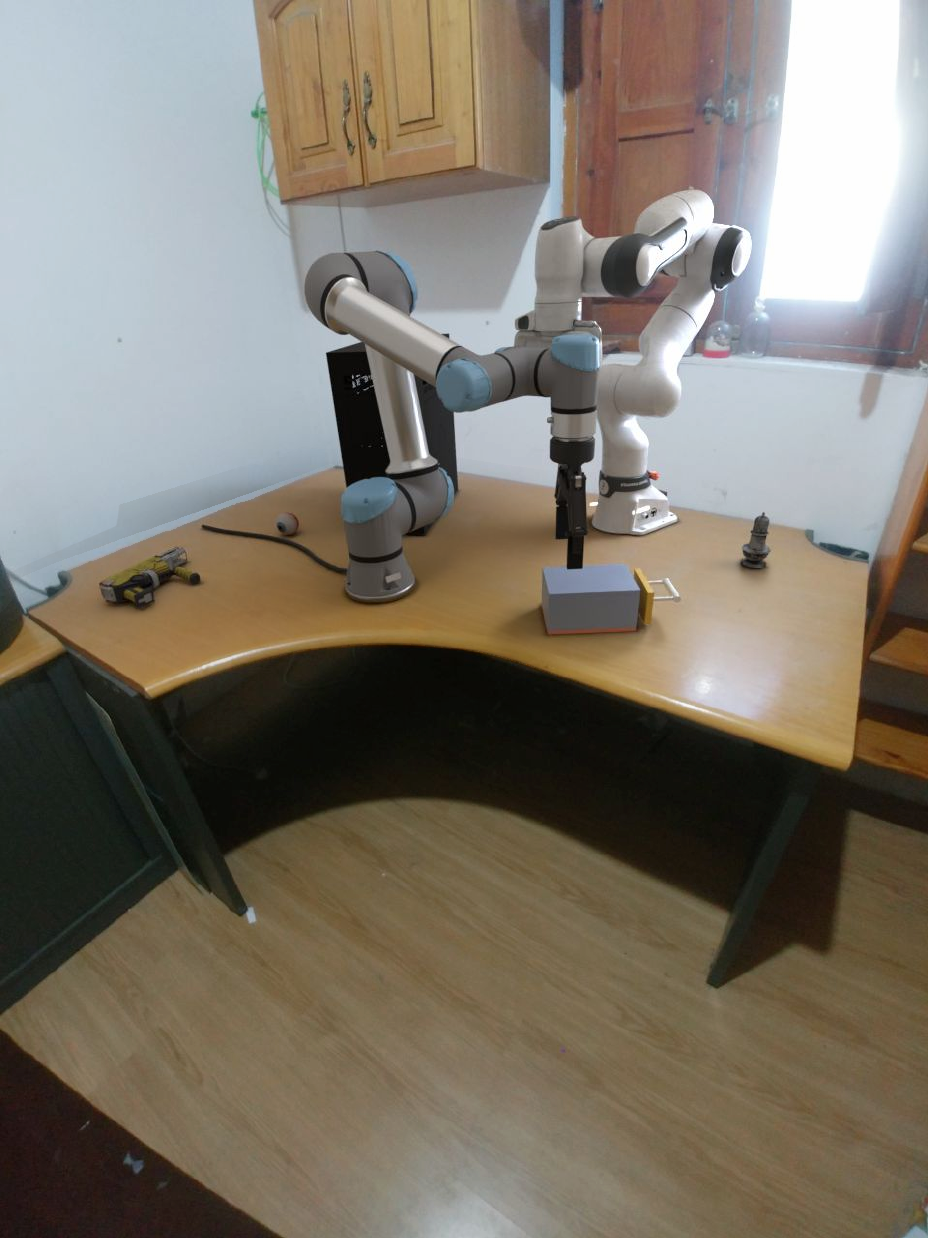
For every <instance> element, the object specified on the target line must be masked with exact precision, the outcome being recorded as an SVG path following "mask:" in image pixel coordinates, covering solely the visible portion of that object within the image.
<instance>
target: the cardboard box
mask: <svg viewBox="0 0 928 1238" xmlns="http://www.w3.org/2000/svg"><path fill="white" fill-rule="evenodd" d="M441 334H442V335H444V336H445V337H447V338H449V339H450V333H441ZM325 356H326V362H327V364H326V365H327V370H328V374H329V383H330V390H331V396H332V402H333V409H334V415H335V421H336V428H337V429H336V430H337V435H338V441H339V448H340V454H341V455H340V456H341V461H342V469H343V474H344V482H345V487H346V488H347V487H349V486H350V485H352V484H353V483H356V482H358V481H361V480H364V479H371V478H374V477H385V478H387V476H386V471H385V470H386V469H387V467H388V465H389V464H390V457H389V453H388V448H387V443H386V439H385V434H384V430H383V425H382V421H381V416H380V411H379V407H378V402H377V398H376V393H375V389H374V384H373V380H372V375H371V370H370V366H369V361H368V357H367V352H366V348H365V344H364V343H363V342H361V341H358V342H355V343H353V344H350V345H347V346H343V347H339V348H337V349H333V350H330V351H327V352H325ZM414 378H415V384H416V389H417V394H418V399H419V404H420V410H421V415H422V420H423V425H424V430H425V436H426V441H427V446H428V451H429V454H430V455H431V456H432V457H433V458H435V459H436V460H437V461H438V467H440V468H442V469H443V470H445V471H446V472H447V476H449V477H450V478H451V481H452V483H453V487H454V496H455V495H456V494H457V493H458V491H459V481H458V480H459V479H458V461H457V446H456V444H457V443H456V427H455V412H452V411H450V410H448V409H447V408H446V407H445V406H444V404H443V402H442V400H440V399H439V397H438V394H437V390H436V387H435V386H433V385H431V384H430V383H428V382H426V381H425V380H423V379H421V378H420V377H418V376H417V375H415V374H414ZM346 488H345V489H346ZM434 524H435V522H434V523H432V524H428V525H425V526H423V527H421V528H418V529H416V530H414V531H411V532H409V533H407V534H404V535H405V536H406V535H407V536H426V534H428V532H429V531H430V529H431V528H432V526H433V525H434ZM404 535H403V536H404Z"/></svg>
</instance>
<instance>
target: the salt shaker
mask: <svg viewBox="0 0 928 1238" xmlns="http://www.w3.org/2000/svg"><path fill="white" fill-rule="evenodd" d="M769 525H770V518H769V517H768V516H766V513H765V511H763V512H762V513H761V515H758V516H756V517H755V518H754V522H753V527H752V529H751V530H750V534H751V536H750V539H749V542H748V543H745V544H742V545H741V549H742V555H743V556H744V558H742V559H741V560H740V561H739V562H740V564H741V565H742V566H743V567H747V568H752V569H763V568H765V567H766V566H767V562H766V560H765V559H767V557H768V556H769V554H770V553H771V551H772V549H771V547H770V546H768V545H766V542H767V536H769V535H770V534H769V531H768V529H769ZM764 560H765V561H764Z"/></svg>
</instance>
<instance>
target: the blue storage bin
mask: <svg viewBox="0 0 928 1238" xmlns="http://www.w3.org/2000/svg"><path fill="white" fill-rule="evenodd" d="M639 597H640V589H639V587H638V585H637V583H636V581H635V580H634V575H633V573H631V571H630V569H629V566H628V565H627V563H614V564H613V563H612V564H611V563H610V564H609V563H608V564H589V565H588V564H587V565H583V569H568V570H567V565H566V566H545V567H543V566H542V568H541V609H542V613H543V614H542V615H543V618H544V622H545V626H546V627H545V628H546V631H547V635H571V634H574V635H575V634H596V633H619V632H636V631H637V624H638V616H639V613H638V606H639Z"/></svg>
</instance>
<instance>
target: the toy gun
mask: <svg viewBox="0 0 928 1238" xmlns="http://www.w3.org/2000/svg"><path fill="white" fill-rule="evenodd" d="M184 554H185V558H181V556H182V555H184ZM187 562H188V554H187V550H186V549H185V548H184V547H179V546H175V547H173V548H171V549H168V550H167V551H164V552H162V553H161V554H159V555H157V554H155V555H154V556H152V557H150V558H147V559H145V560H142V561H141V562H139V563H137V564H135V565H132V566H129V568H127V569H124V570H122V571H120V572H118V573H116V574H113V575H111V576H109V577H107V578H105V579H103V580H101V581H99V583H98V586H99V589H100V593H101V597H102V599H103V600H105V602H106V603H110V604H112V603H114V602H115V603H123V602H126V601H132V602H134V604H135V606H136V609H141V608H143V607H145V606H148V605H150V604H153V603H154V602H155V596H154V592H153V590H155V589H157V588H158V587H160V583H161V582H164V581H166V580H169V579H172V577H173V576H175V577H178V578H179V579H182V580H185V581H187V582H190V583H192V585H195V584H198V583H200V581H201V575H200V574H199V573H198V572H194V571H191V570H189V569H186V568H184V567H181V565H182V564H184V563H187Z"/></svg>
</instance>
